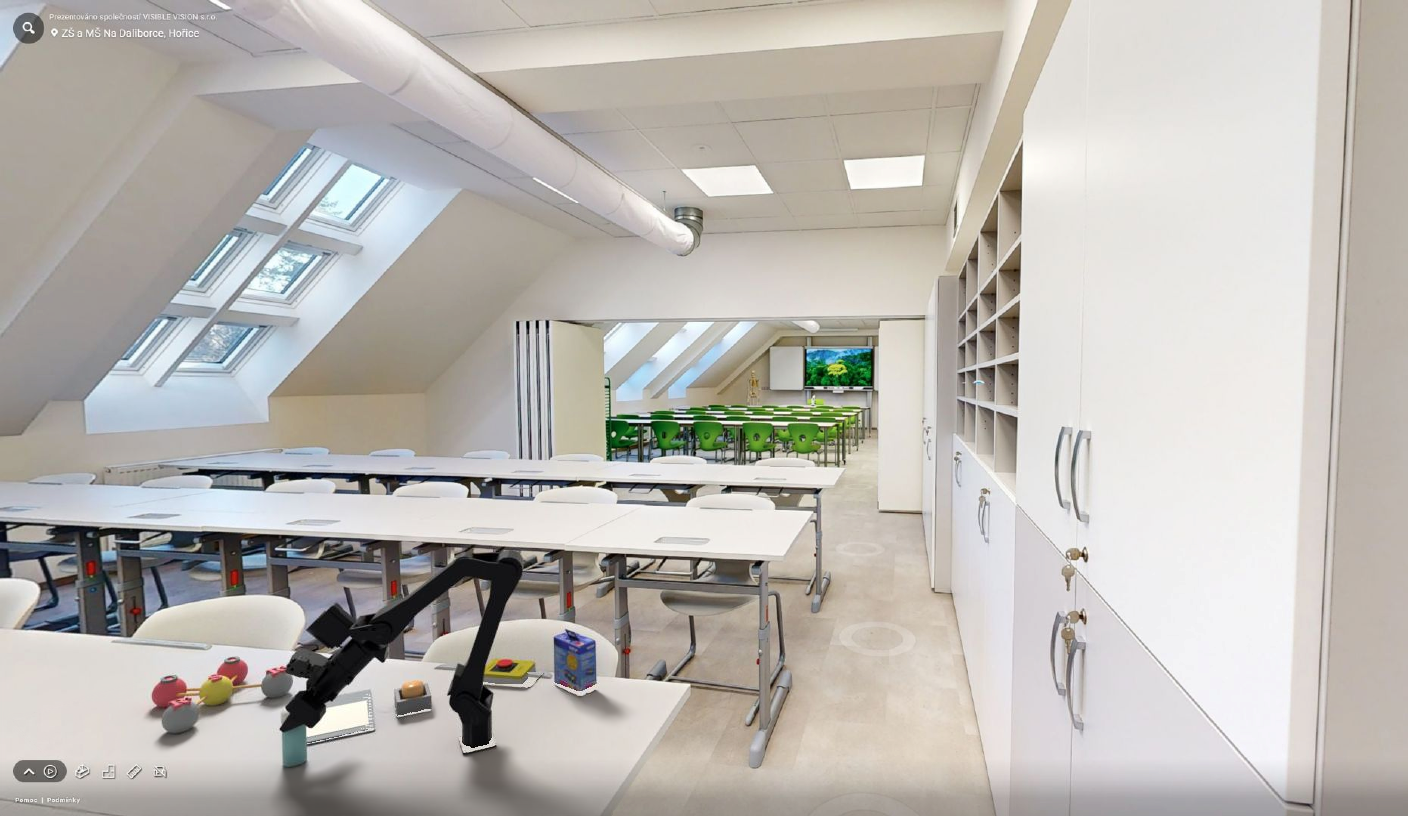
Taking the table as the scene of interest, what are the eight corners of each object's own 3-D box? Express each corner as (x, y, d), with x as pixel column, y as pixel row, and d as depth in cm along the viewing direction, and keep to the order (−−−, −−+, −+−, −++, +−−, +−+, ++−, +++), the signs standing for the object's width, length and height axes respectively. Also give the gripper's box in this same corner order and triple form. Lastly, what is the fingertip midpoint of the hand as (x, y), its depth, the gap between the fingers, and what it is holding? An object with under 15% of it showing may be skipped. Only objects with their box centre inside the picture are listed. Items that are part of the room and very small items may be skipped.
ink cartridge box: (552, 686, 164) (552, 626, 163) (570, 678, 168) (570, 620, 167) (579, 698, 157) (579, 636, 157) (597, 690, 162) (597, 630, 161)
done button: (424, 700, 151) (424, 686, 151) (402, 704, 149) (402, 690, 149) (422, 691, 155) (422, 679, 155) (401, 696, 153) (401, 682, 153)
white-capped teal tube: (307, 762, 130) (306, 711, 129) (281, 768, 128) (280, 716, 127) (308, 752, 133) (307, 701, 133) (282, 757, 131) (281, 706, 131)
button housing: (431, 711, 151) (431, 695, 151) (396, 718, 148) (396, 702, 147) (427, 697, 157) (427, 682, 157) (394, 704, 154) (394, 689, 154)
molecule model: (168, 742, 138) (168, 711, 138) (129, 713, 149) (128, 684, 149) (298, 695, 159) (298, 668, 158) (255, 672, 170) (254, 647, 170)
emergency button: (488, 652, 173) (544, 656, 171) (488, 669, 174) (545, 673, 171) (470, 668, 164) (530, 672, 162) (471, 685, 164) (530, 690, 162)
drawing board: (374, 730, 142) (374, 727, 142) (284, 749, 135) (284, 746, 135) (370, 691, 160) (370, 688, 160) (290, 706, 152) (290, 703, 152)
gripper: (330, 619, 139) (271, 676, 137) (297, 655, 121) (228, 722, 119) (373, 653, 141) (315, 711, 139) (346, 694, 123) (279, 761, 121)
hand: (286, 724), depth 130 cm, fingers closed on white-capped teal tube, 4 cm apart
